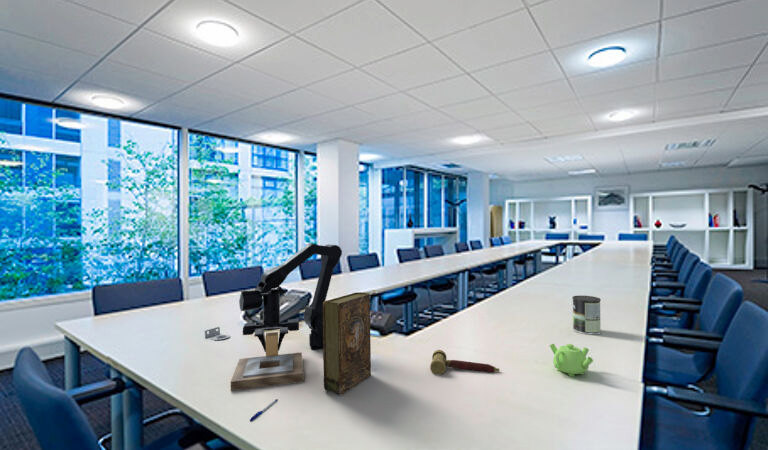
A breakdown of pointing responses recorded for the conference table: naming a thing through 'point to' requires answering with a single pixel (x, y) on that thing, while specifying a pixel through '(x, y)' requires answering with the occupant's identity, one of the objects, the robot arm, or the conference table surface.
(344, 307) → the book
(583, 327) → the coffee can
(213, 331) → the bracket
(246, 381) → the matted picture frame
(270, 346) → the tan cardboard-colored box
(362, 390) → the conference table surface
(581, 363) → the teapot
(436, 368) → the gavel
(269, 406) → the ballpoint pen
